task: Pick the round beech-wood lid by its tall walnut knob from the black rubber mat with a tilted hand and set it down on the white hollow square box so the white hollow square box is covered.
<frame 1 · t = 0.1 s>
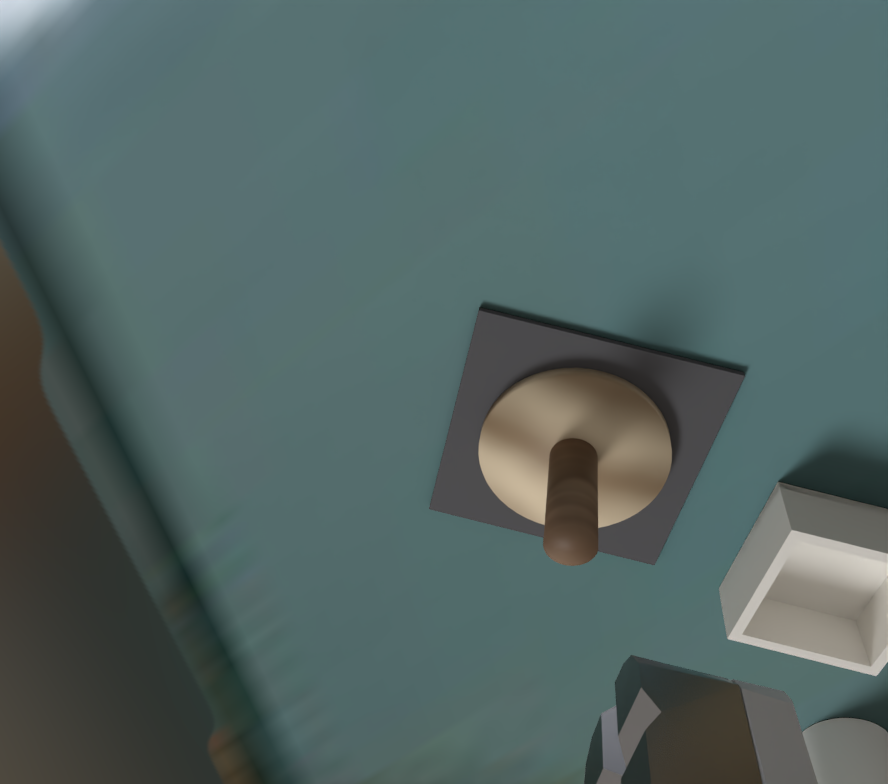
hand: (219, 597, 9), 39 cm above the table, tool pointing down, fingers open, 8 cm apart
mat: (573, 444, 54), on the table
white hollow square box: (820, 555, 56), on the table
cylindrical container: (842, 744, 67), on the table
lid: (573, 448, 54), resting on mat
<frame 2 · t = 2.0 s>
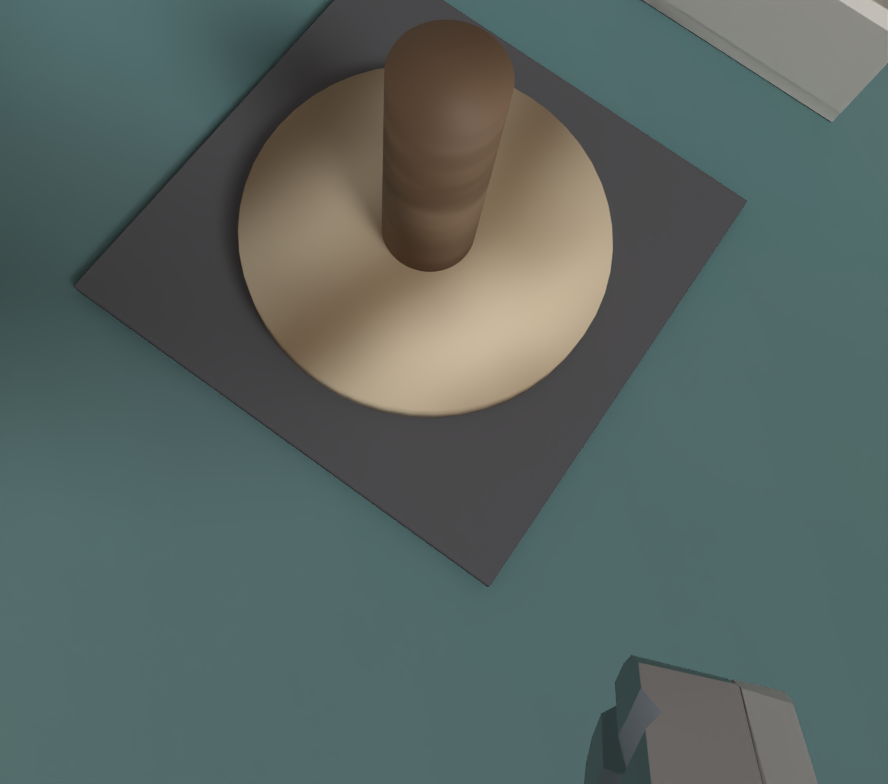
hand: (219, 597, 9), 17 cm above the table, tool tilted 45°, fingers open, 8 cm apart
mat: (426, 246, 29), on the table
lid: (426, 241, 28), resting on mat
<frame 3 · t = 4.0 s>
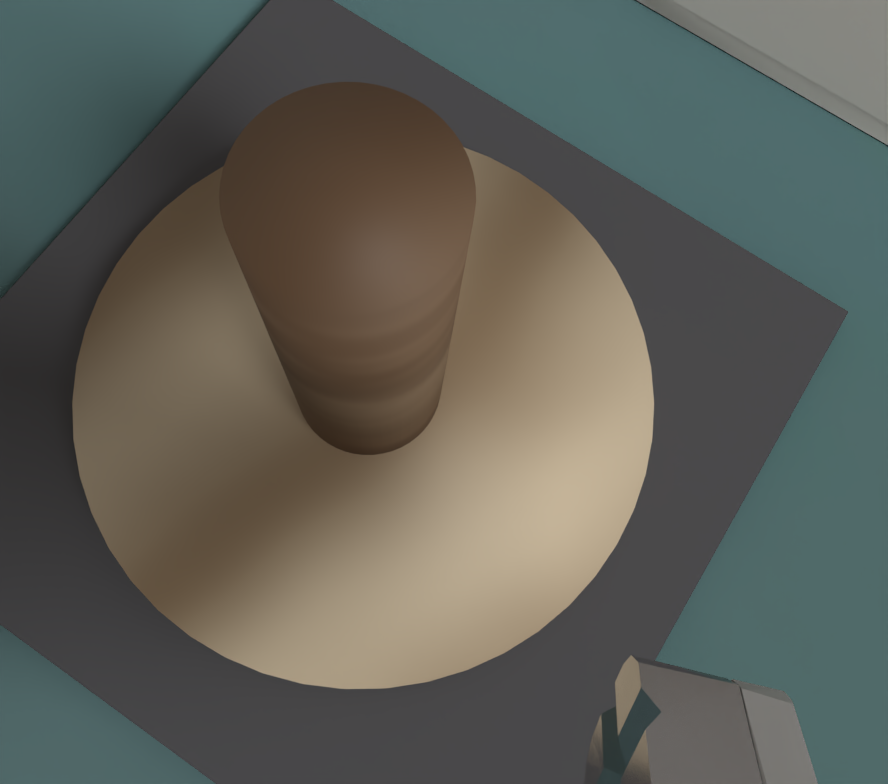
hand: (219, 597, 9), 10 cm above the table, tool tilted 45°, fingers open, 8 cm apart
mat: (370, 402, 19), on the table
lid: (370, 397, 19), resting on mat
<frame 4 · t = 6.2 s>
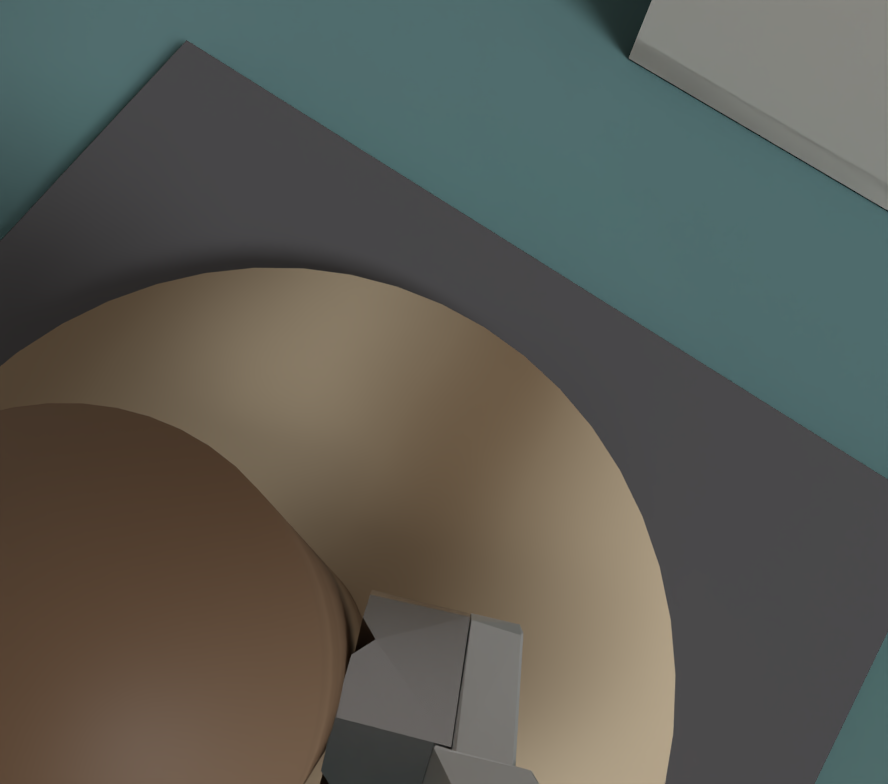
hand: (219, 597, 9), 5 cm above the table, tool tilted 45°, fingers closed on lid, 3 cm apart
mat: (275, 653, 13), on the table
lid: (271, 652, 13), resting on mat, touching gripper
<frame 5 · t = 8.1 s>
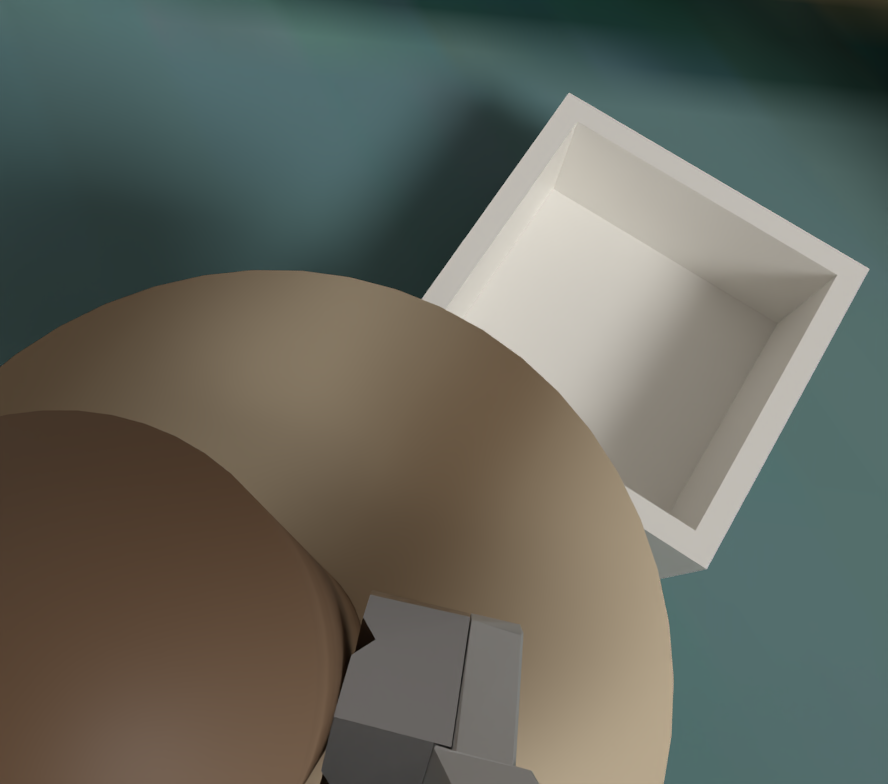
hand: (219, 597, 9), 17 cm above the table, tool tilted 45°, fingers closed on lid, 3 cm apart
white hollow square box: (594, 362, 28), on the table
lid: (269, 655, 13), point 12 cm above the table, touching gripper
when the fingers open (11 cm above the table, at t = 10.2 s): lid drops 1 cm, resting on white hollow square box.
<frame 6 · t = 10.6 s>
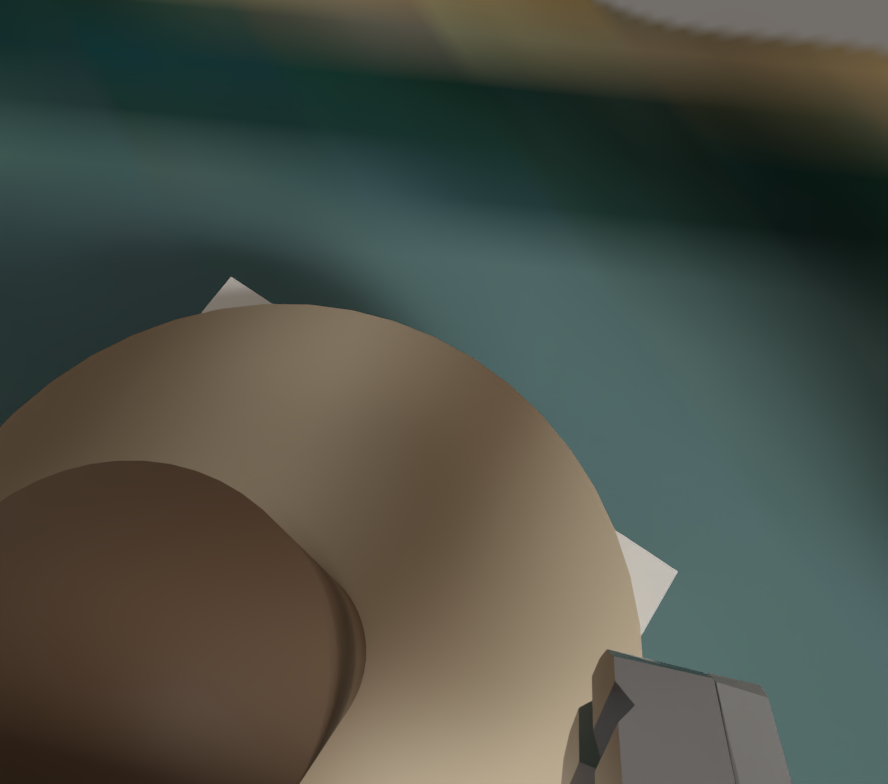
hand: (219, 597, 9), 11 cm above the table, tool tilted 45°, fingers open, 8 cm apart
white hollow square box: (310, 649, 19), on the table
lid: (279, 652, 15), point 4 cm above the table, touching white hollow square box
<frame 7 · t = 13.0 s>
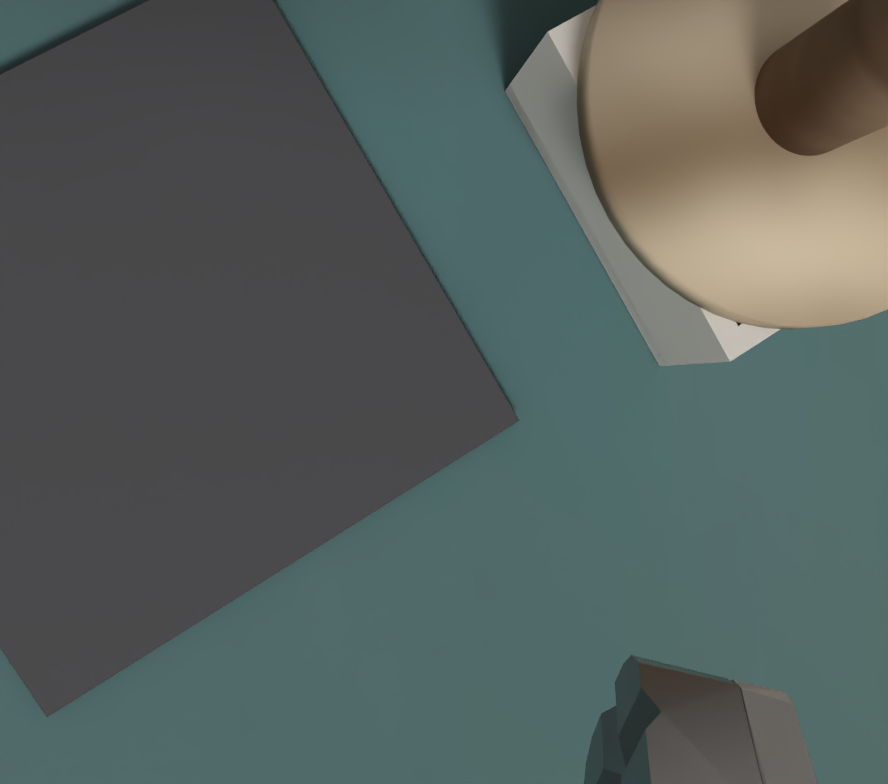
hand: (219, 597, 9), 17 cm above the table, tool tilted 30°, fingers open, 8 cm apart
mat: (150, 328, 25), on the table
white hollow square box: (708, 156, 28), on the table
lid: (785, 111, 23), point 4 cm above the table, touching white hollow square box
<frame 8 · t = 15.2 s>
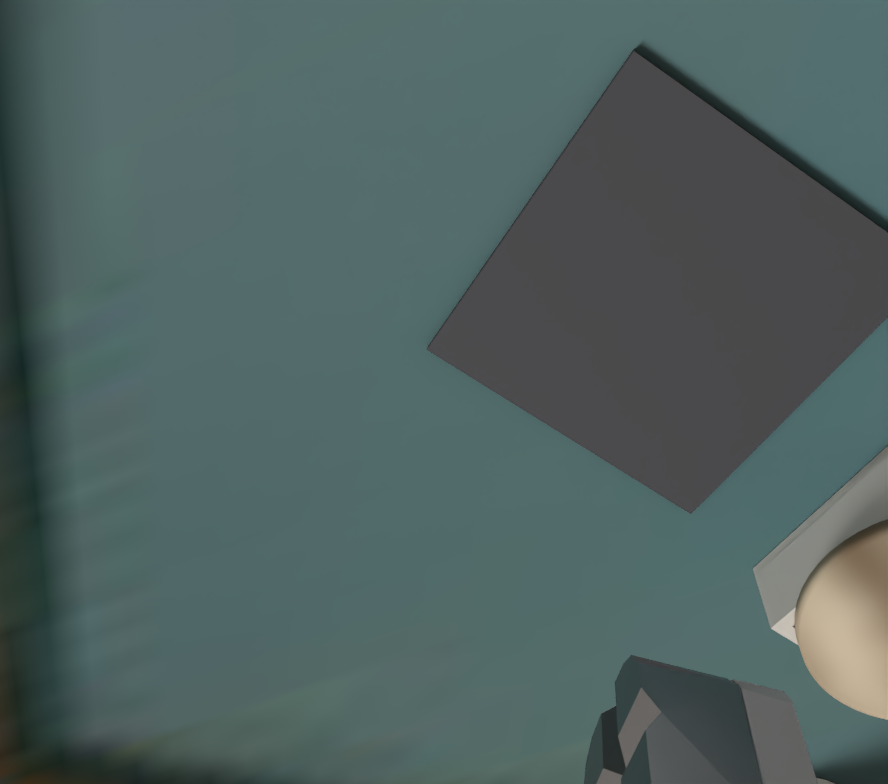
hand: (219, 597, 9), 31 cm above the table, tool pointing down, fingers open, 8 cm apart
mat: (665, 308, 39), on the table
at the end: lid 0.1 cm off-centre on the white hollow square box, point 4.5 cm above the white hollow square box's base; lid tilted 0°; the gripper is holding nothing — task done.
